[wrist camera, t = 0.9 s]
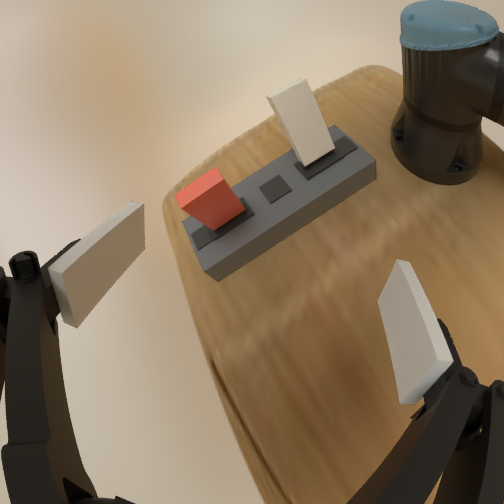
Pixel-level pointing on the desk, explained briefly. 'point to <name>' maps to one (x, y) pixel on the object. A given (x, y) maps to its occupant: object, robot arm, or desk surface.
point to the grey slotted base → (281, 204)
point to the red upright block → (210, 200)
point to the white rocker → (301, 121)
